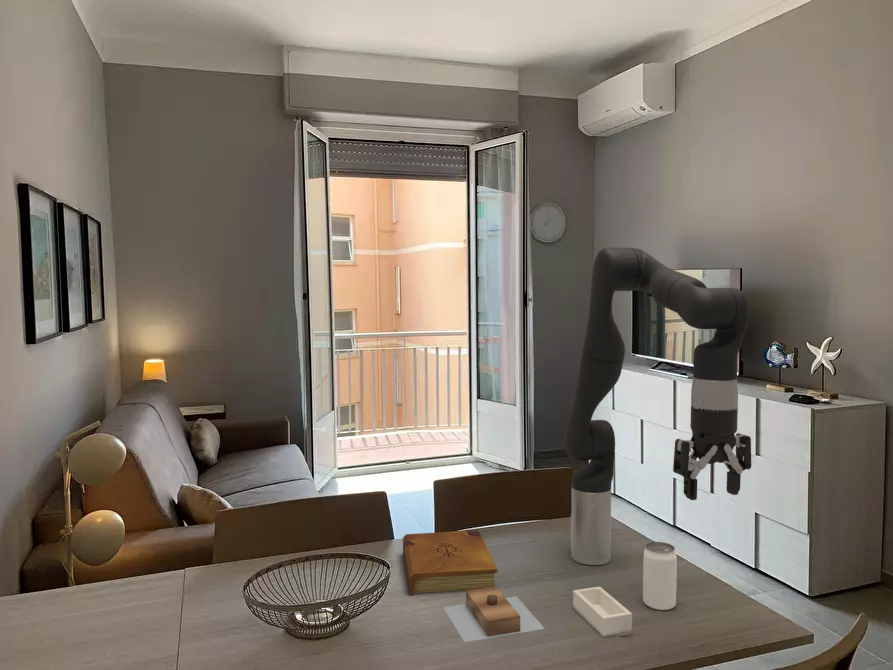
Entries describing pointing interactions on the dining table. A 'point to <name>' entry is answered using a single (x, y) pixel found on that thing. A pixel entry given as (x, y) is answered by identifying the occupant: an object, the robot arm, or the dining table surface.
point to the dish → (602, 612)
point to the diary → (447, 562)
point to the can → (659, 576)
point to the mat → (473, 629)
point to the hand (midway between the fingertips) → (711, 496)
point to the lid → (493, 611)
